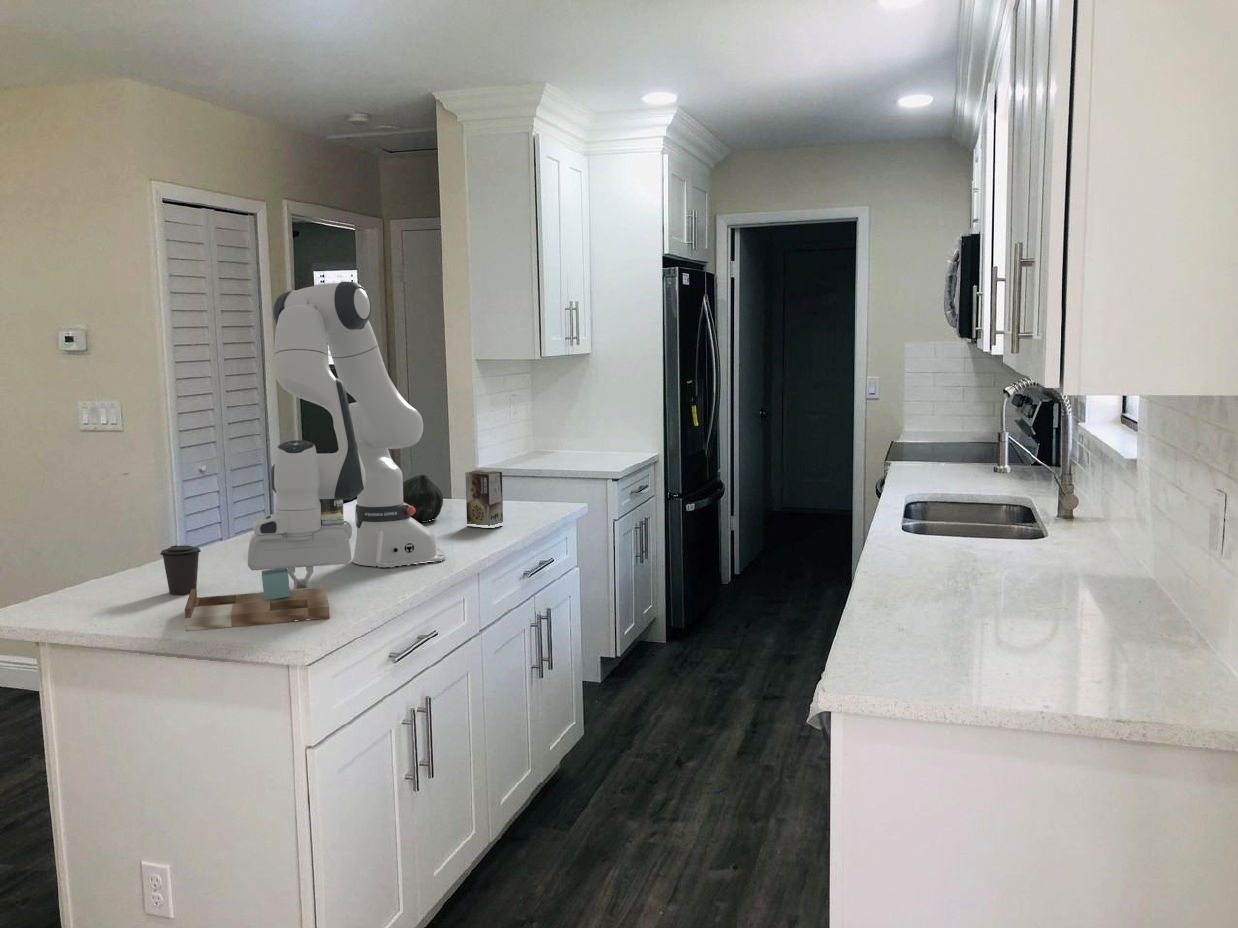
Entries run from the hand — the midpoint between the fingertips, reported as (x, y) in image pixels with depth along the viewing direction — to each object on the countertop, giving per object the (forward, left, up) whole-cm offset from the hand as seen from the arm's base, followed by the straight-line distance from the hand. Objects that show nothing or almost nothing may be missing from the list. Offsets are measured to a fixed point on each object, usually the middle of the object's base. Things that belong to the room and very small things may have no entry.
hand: (301, 587), depth 207 cm
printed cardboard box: (-53, -75, -4) cm, 92 cm away
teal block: (+5, 0, -1) cm, 5 cm away
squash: (-36, -91, -4) cm, 98 cm away
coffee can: (-8, -71, -4) cm, 72 cm away
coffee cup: (+24, -20, -4) cm, 32 cm away
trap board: (+8, +4, -4) cm, 10 cm away
